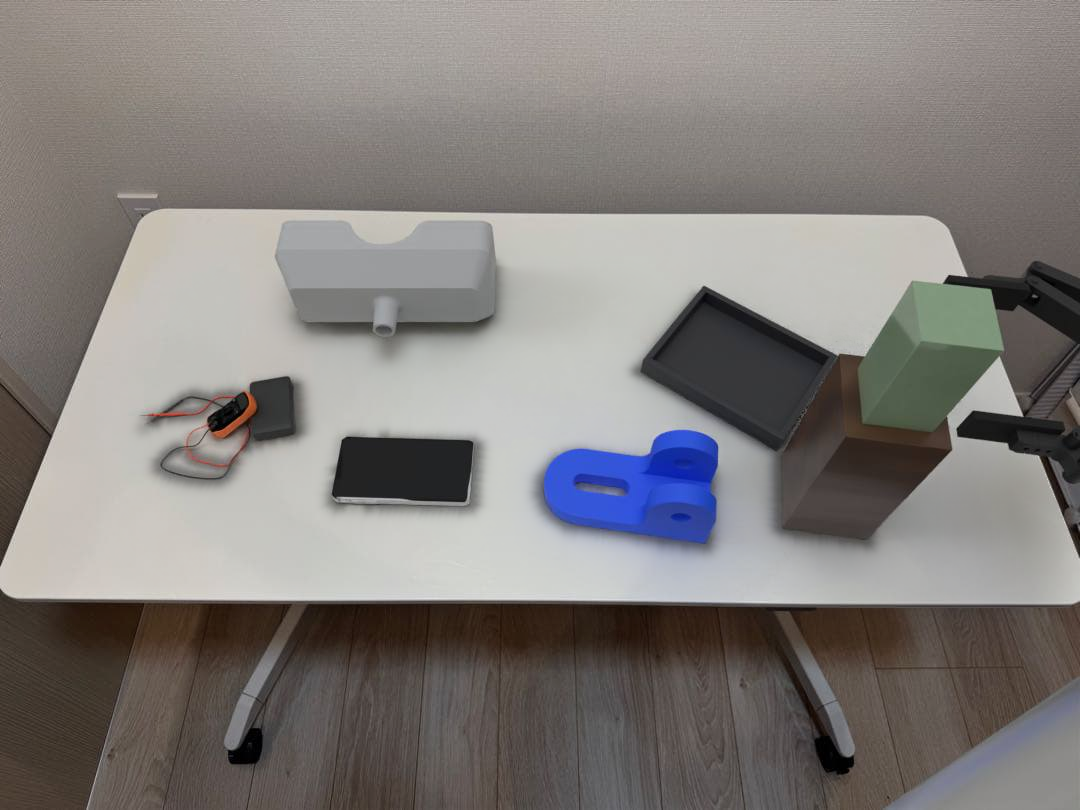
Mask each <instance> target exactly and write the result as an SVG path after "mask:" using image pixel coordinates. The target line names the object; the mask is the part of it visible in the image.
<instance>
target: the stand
mask: <svg viewBox="0 0 1080 810" xmlns="http://www.w3.org/2000/svg"><path fill="white" fill-rule="evenodd" d="M837 355H838V357H837V359H836V360H835V362H834V364H833V366H832V367H831V369H830V371H829V372H828V374H827V375H826V377H825V378H824V380H823V381H822V383H821V384H820V386H819V387H818V389H817V391H816V393H815V394H814V396H813V398H812V401H811V402H810V404H809V406H808V407H807V409H806V411H805V413H804V414H803V416H802V418H801V420H800V422H799V424H798V425H797V427H796V429H795V430H794V432H793V434H792V435H791V437H790V439H789V441H788V442H787V444H786V446H785V447H784V450H782V451H783V452H782V453H781V455H780V484H781V485H780V486H781V489H780V490H781V524H782V525H781V528H782V529H785V530H792V531H800V532H807V533H814V534H822V535H830V536H836V537H843V538H852V539H859V540H866V541H867V540H868V539H869V538H870V537H871V536H872V535H873V534H874V533H875V532H876V531H877V530H878V529H879V528H880V526H882V525H883V523H885V522H886V520H887V519H888V518H889V517H890V516H891V515H892V514H893V513H894V512H895V511H896V510H897V509H898V508H899V507H900V506H901V505H902V504H903V503H904V501H906V499H907V498H909V496H910V495H911V494H912V493H913V492H914V491H915V490H916V489H917V488H918V487H919V486H920V485H921V484H922V483H923V482H924V480H925V479H927V477H929V475H930V474H932V472H933V471H934V470H935V469H936V468H937V467H938V466H939V465H940V464H941V463H942V462H943V461H944V460H945V458H947V457H948V455H949V454H950V453H951V452H952V451H953V445H952V443H953V442H952V439H951V431H950V426H949V418H948V416H947V417H946V418H945V419H944V420H943V421H942V422H941V423H940V425H939V426H938V427H937V428H936V429H935V430H934V431H933V432H925V431H917V430H909V429H901V428H893V427H885V426H877V425H870V424H863V423H862V412H861V401H860V390H859V379H858V367H859V365H860V363H861V362H862V360H863V359H864V357H865V356H864V355H857V354H856V355H855V354H848V353H842V352H841V353H839V354H837Z"/></svg>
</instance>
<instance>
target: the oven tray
mask: <svg viewBox="0 0 1080 810" xmlns="http://www.w3.org/2000/svg"><path fill="white" fill-rule="evenodd" d="M838 355H839V354H836V353H834V352H832V351H830V350H828V349H826V348H824V347H823V346H821V345H819V344H817V343H815V342H813V341H811V340H809V339H807V338H805V337H803V336H801V335H800V334H797V333H796V332H794V331H792V330H791V329H788V328H786V327H785V326H783V325H781V324H778V323H776V322H775V321H773V320H771V319H770V318H767V317H766V316H763V315H761V314H759V313H757V312H756V311H754V310H752V309H751V308H748V307H746V306H744V305H742V304H740V303H739V302H736V301H735V300H733V299H731V298H729V297H727V296H725V295H723V294H721V293H719V292H717V291H716V290H714V289H712V288H709V287H708V286H706V285H703V286H702V287H701V288H700V289H699V290H698V292H697V293H696V294H695V295H694V297H693V298H692V299H691V300H690V301H689V303H688V304H687V305H686V307H684V309H683V310H682V311H681V313H680V314H679V315H678V316H677V317H676V318H675V320H674V321H673V323H672V324H671V325H670V326H669V327H668V328H667V329H666V331H665V332H664V333H663V335H662V336H661V337H660V338H659V339H658V341H657V342H656V343H655V344H654V345H653V347H652V348H651V349H650V350H649V351H648V353H647V354H646V355H645V357H644V358H642V364H641V369H640V373H641V374H643V375H644V376H645V375H646V376H647V377H649V378H651V380H654V381H656V382H657V383H659V384H661V385H662V386H664V387H666V388H667V389H669V390H671V391H673V392H675V393H676V394H678V395H679V396H682V397H683V398H685V399H686V400H688V401H690V402H692V403H693V404H695V405H697V406H699V407H701V408H702V409H704V410H706V411H707V412H708V413H711V414H712V415H714V416H716V417H718V418H720V419H721V420H722V421H724V422H726V423H728V424H730V425H731V426H733V427H735V428H736V429H738V430H740V431H742V432H743V433H745V434H747V435H748V436H750V437H752V438H754V439H755V440H757V441H759V442H760V443H762V444H764V445H765V446H767V447H769V448H771V449H773V450H775V451H779V450H780V448H781V446H782V444H783V443H784V441H785V440H786V438H787V437H788V435H789V433H790V432H791V430H792V429H793V427H794V426H795V425H796V423H797V421H798V420H799V418H800V417H801V416H802V414H803V412H804V411H805V410H806V407H807V406H808V405H809V403H810V401H811V400H812V399H813V398H814V396H815V395H816V393H817V391H818V390H819V388H820V387H821V385H822V383H823V381H824V380H825V378H826V376H827V374H828V373H829V371H830V369H831V368H832V366H833V364H834V362H835V361H836V359H837V357H838Z"/></svg>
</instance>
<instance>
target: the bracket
mask: <svg viewBox="0 0 1080 810" xmlns="http://www.w3.org/2000/svg"><path fill="white" fill-rule="evenodd" d="M718 465H719V444H718V443H717V441H716V440H715V439H714V438H712V437H711V436H710V435H708V434H705V433H703V432H700V431H697V430H691V429H673V430H668V431H665V432H662V433H660V434H658V435H657V436H656V437H655V438H654V439H653V441H652V444H651V448H650V451H649V453H647V454H646V455H632V454H626V453H617V452H610V451H602V450H596V449H589V448H573V449H569V450H566V451H564V452H561V453H560V454H559V455H557V456H555V458H553V460H552V461H551V462H550V463H549V464H548V467H547V468H546V470H545V474H544V479H543V494H544V499H545V503H546V504H547V506H548V508H549V510H550V511H551V513H553V514H554V515H555V516H556V517H557V518H559V519H561V520H562V521H564V522H566V523H569V524H572V525H577V526H584V527H590V528H597V529H604V530H610V531H616V532H623V533H631V534H638V535H645V536H651V537H657V538H664V539H665V538H666V539H672V540H678V541H686V542H692V543H699V544H706V542H707V540H708V539H709V538H708V537H709V536H710V534H711V532H712V531H713V529H714V526H715V524H716V521H717V497H716V496H715V495H714V493H712V492H711V487H712V486H711V484H712V482H713V479H714V477H715V474H716V472H717V469H718V467H719V466H718ZM577 483H586V484H594V485H601V486H607V487H614V488H620V489H623V490H624V491H625V492H626V494H625V495H615V494H608V493H601V492H594V491H589V490H588V491H587V490H582V489H581V490H580V489H578V488H576V487H575V485H576V484H577Z"/></svg>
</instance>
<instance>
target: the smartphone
mask: <svg viewBox="0 0 1080 810" xmlns="http://www.w3.org/2000/svg"><path fill="white" fill-rule="evenodd" d="M340 441H341V442H340V445H339V446H340V447H339V452H338V457H337V463H336V469H335V474H334V478H333V479H334V480H333V484H332V491H331V497H332V499H333V500H334V502H336V503H344V504H345V503H347V504H359V505H360V504H361V505H362V504H363V505H365V504H366V505H378V504H379V505H380V504H382V505H410V506H411V505H413V506H416V505H417V506H450V507H466V506H468V505H470V503H471V488H472V477H473V464H474V451H475V444H474V441H472V440H470V439H444V438H443V439H442V438H440V439H439V438H437V439H435V438H410V437H407V438H406V437H382V436H345V437H344V438H342V439H341V440H340Z"/></svg>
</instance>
